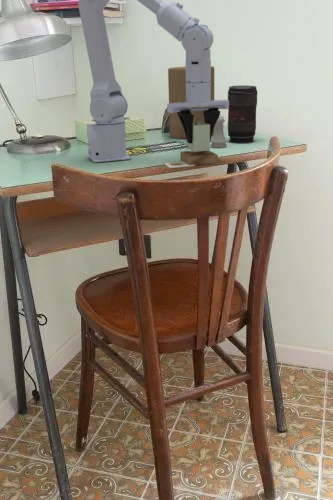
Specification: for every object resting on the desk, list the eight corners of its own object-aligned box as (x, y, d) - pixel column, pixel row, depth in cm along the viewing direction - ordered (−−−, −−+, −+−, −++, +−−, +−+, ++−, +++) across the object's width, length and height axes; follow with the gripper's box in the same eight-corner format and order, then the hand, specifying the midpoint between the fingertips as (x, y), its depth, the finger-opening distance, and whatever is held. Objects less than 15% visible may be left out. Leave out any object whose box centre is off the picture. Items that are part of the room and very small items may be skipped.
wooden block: (187, 133, 170) (186, 66, 163) (214, 135, 164) (215, 66, 157) (169, 137, 162) (167, 68, 155) (197, 140, 157) (196, 68, 150)
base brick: (189, 165, 125) (189, 156, 124) (180, 160, 132) (180, 151, 131) (217, 163, 127) (217, 153, 126) (207, 157, 133) (207, 148, 133)
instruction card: (169, 168, 124) (169, 167, 123) (163, 164, 128) (163, 162, 128) (194, 165, 125) (194, 164, 125) (187, 161, 130) (187, 160, 129)
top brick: (193, 151, 126) (193, 123, 124) (188, 148, 129) (187, 121, 127) (209, 150, 127) (209, 122, 125) (203, 147, 130) (203, 120, 128)
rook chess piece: (226, 148, 144) (226, 117, 141) (209, 148, 145) (209, 117, 142) (227, 145, 148) (227, 115, 145) (211, 145, 149) (211, 115, 146)
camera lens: (226, 143, 150) (227, 88, 145) (228, 138, 158) (228, 85, 152) (255, 143, 149) (257, 87, 144) (255, 138, 156) (257, 85, 151)
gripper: (173, 84, 117) (174, 147, 122) (234, 81, 121) (233, 142, 126) (163, 82, 124) (165, 142, 128) (222, 79, 127) (222, 137, 132)
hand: (198, 142), depth 128 cm, fingers closed on top brick, 4 cm apart
